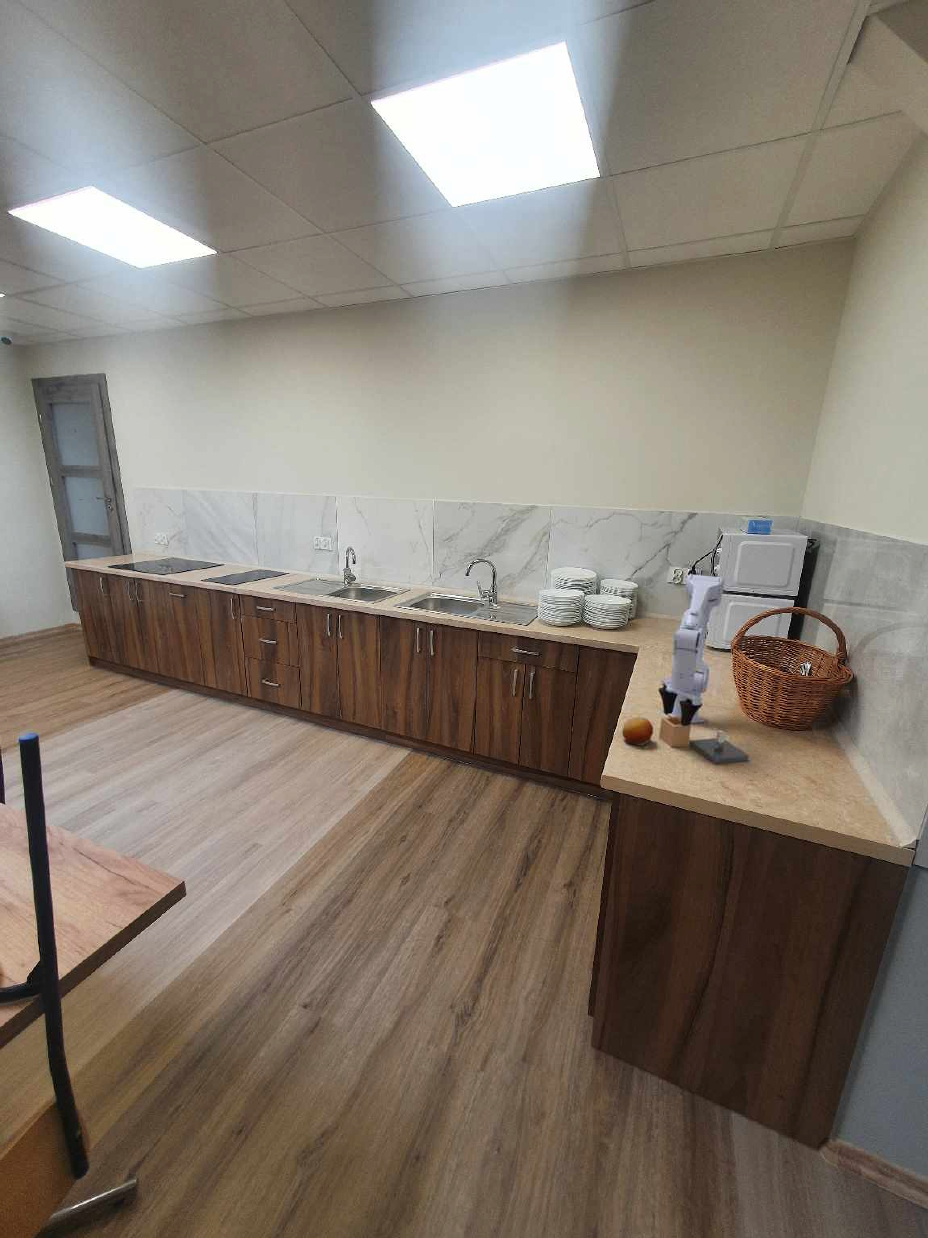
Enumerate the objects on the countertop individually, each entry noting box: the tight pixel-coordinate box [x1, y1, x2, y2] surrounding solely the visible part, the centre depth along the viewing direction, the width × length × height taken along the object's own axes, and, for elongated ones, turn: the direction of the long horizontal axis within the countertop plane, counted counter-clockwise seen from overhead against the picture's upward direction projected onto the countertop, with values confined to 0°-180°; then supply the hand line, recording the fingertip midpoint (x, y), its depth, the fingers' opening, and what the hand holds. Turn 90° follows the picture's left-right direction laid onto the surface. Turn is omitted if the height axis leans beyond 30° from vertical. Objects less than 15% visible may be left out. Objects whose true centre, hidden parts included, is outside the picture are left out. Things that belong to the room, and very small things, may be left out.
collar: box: [658, 716, 692, 748], centre depth 141 cm, size 5×5×6 cm
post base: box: [689, 729, 750, 765], centre depth 135 cm, size 10×10×6 cm
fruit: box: [621, 716, 654, 747], centre depth 140 cm, size 8×8×8 cm
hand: (676, 719), depth 140 cm, fingers open, 7 cm apart
